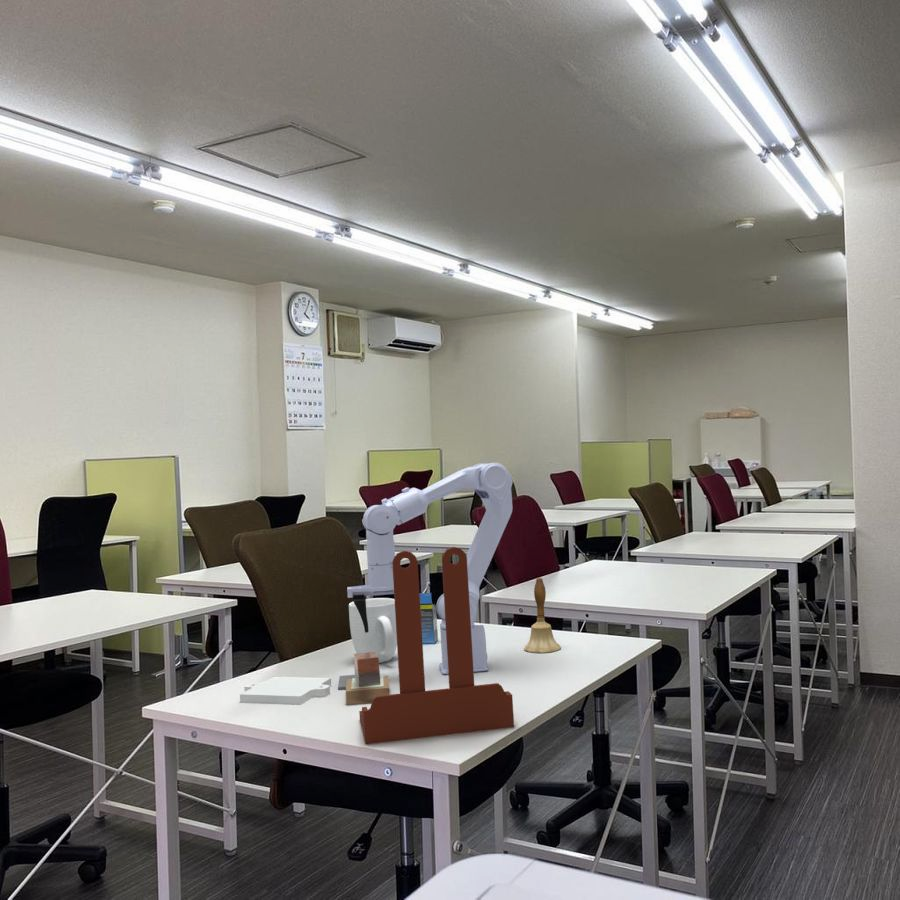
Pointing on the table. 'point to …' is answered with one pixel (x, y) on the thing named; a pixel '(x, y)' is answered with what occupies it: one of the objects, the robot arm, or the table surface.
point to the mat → (344, 681)
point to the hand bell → (541, 626)
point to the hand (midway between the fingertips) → (385, 630)
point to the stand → (365, 691)
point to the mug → (375, 628)
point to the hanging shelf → (415, 706)
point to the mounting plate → (286, 690)
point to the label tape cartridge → (428, 619)
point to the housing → (367, 669)
